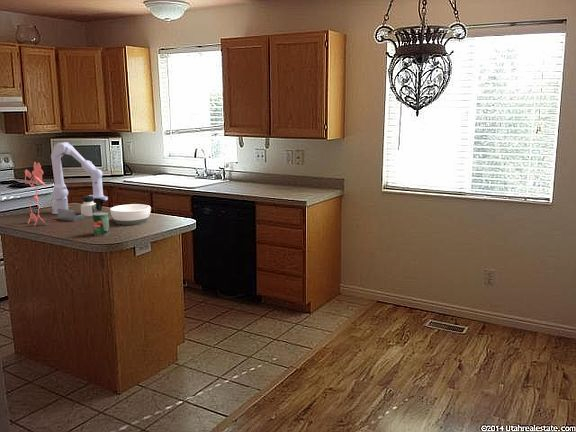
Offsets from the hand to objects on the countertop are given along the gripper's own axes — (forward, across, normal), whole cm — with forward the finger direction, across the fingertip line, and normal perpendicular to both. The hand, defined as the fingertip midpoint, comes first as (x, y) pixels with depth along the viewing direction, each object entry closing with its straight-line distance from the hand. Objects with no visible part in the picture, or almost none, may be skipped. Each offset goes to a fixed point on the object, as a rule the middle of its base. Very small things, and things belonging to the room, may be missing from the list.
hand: (99, 210), depth 332 cm
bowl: (+2, -36, +8) cm, 37 cm away
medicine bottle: (+2, 0, +8) cm, 8 cm away
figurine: (+2, +5, +35) cm, 36 cm away
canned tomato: (+2, -45, +37) cm, 58 cm away
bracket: (+2, 0, +20) cm, 20 cm away
